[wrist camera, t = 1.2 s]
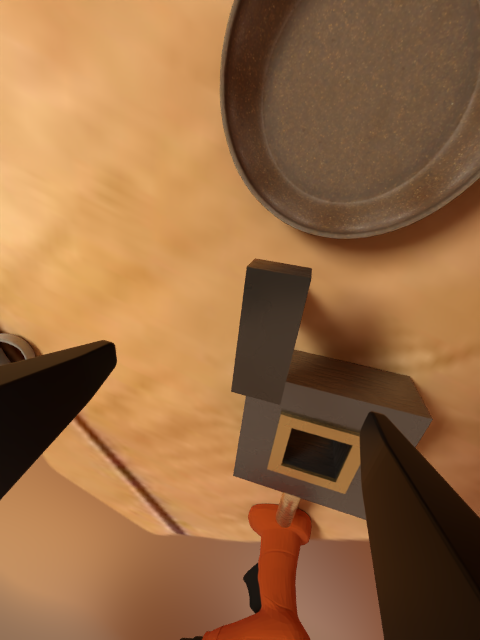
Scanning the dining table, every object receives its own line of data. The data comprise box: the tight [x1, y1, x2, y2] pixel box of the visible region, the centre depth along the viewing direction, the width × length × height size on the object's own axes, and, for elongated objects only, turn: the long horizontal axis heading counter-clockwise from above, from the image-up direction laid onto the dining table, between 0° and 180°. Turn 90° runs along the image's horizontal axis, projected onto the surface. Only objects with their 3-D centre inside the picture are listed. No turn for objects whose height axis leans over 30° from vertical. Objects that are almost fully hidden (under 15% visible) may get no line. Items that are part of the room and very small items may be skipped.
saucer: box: [220, 0, 480, 239], centre depth 13 cm, size 15×15×3 cm
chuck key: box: [231, 259, 312, 405], centre depth 16 cm, size 3×7×8 cm, turn 174°
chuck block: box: [233, 350, 433, 528], centre depth 24 cm, size 12×20×5 cm, turn 174°
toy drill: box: [180, 504, 311, 640], centre depth 27 cm, size 5×19×15 cm, turn 109°
